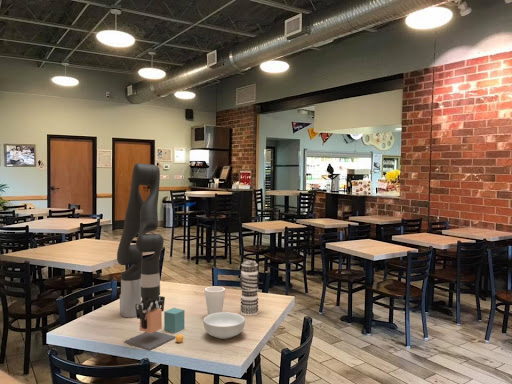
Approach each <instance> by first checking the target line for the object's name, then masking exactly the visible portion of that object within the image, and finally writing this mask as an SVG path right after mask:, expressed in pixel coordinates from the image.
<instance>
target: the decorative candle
mask: <svg viewBox="0 0 512 384" xmlns="http://www.w3.org/2000/svg"><path fill="white" fill-rule="evenodd" d="M240 265H241V271H240V273H241V274H240V275H239V276H240V279H239V280H240V290H241V295H240V296H241V297H240V315H241V316H248V317H249V316H250V317H253V316H256V315H257V316H258V314H259V298H258V297H259V295H258V290H259V286H258V285H259V283H260V282H259V280H260V279H259V278H258V277H260V275H259V271H258V266H259V263H257V262H256V261H255V260H252V259H251V260H249V259H248V260H243V262H242V263H241V264H240Z"/></svg>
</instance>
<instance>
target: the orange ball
mask: <svg viewBox="0 0 512 384" xmlns="http://www.w3.org/2000/svg"><path fill="white" fill-rule="evenodd" d="M175 341H176V343H181V342H183V341H184V336H183V334H181V333H180V334H176V336H175Z"/></svg>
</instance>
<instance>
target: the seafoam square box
mask: <svg viewBox="0 0 512 384" xmlns="http://www.w3.org/2000/svg"><path fill="white" fill-rule="evenodd" d="M163 312H164V315H163V316H164V317H163V319H164V321H163V323H164V324H163V325H164V329H163V330H164V331H166V332H170V333H173V334H174V333H175V334H176V333H178V332H179V331H181V330H184V329H185V309H181V308H176V307H172V308H170V309H167V310H165V311H163Z"/></svg>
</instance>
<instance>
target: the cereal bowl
mask: <svg viewBox="0 0 512 384" xmlns="http://www.w3.org/2000/svg"><path fill="white" fill-rule="evenodd" d="M245 324H246V319H245V317H244V315H242V314H239V313H235V312H228V311H227V312H226V311H222V312H219V313H213V314H210V315H208V314H207V315H206V316H205V317H204V318H203V327H204V329H205V332H206V333H207V334H209V335H210V336H212V337H215V338H216V339H220V340H228V339H231V338H232V337H233V338H234V337H235V336H237V335H239V334H241V333H242V331H243V330H244V327H245Z"/></svg>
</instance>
